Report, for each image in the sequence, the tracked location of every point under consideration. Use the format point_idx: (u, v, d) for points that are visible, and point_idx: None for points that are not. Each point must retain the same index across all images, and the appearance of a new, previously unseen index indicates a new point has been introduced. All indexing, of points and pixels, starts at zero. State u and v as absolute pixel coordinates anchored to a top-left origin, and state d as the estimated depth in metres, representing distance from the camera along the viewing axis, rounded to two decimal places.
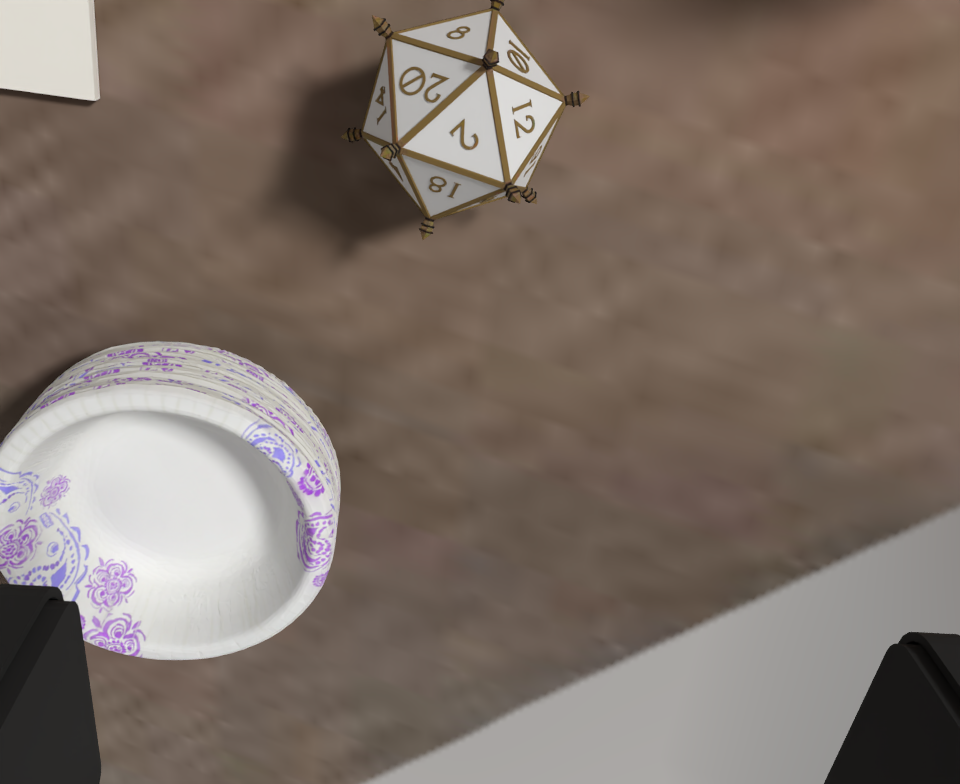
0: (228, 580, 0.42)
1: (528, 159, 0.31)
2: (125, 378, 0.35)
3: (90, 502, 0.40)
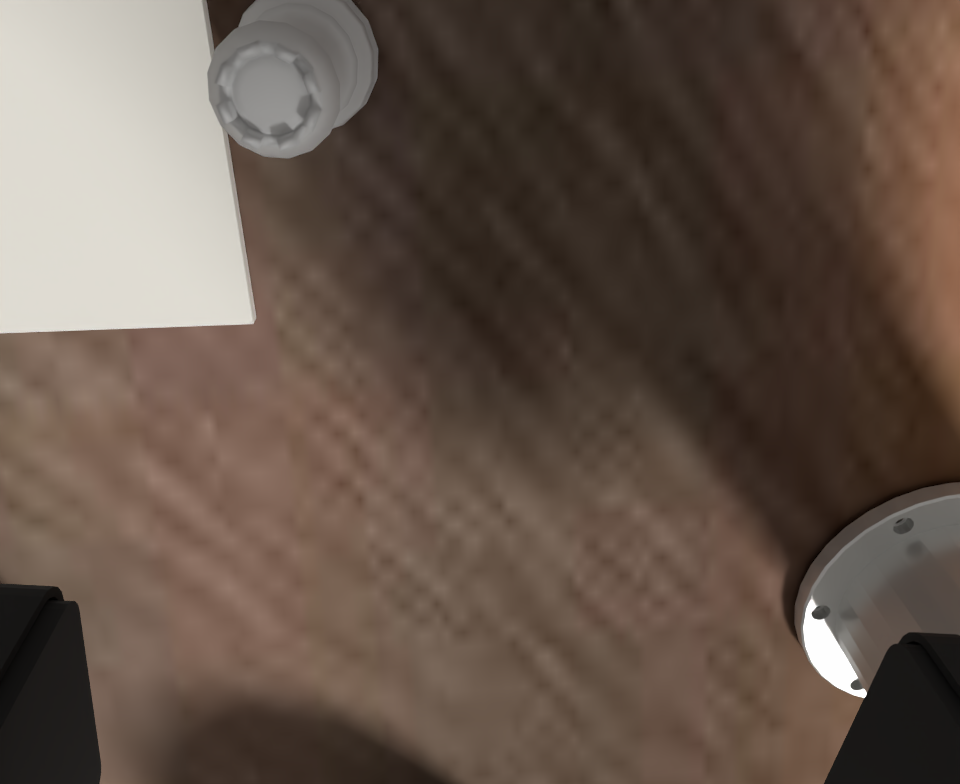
0: None
1: None
2: None
3: None
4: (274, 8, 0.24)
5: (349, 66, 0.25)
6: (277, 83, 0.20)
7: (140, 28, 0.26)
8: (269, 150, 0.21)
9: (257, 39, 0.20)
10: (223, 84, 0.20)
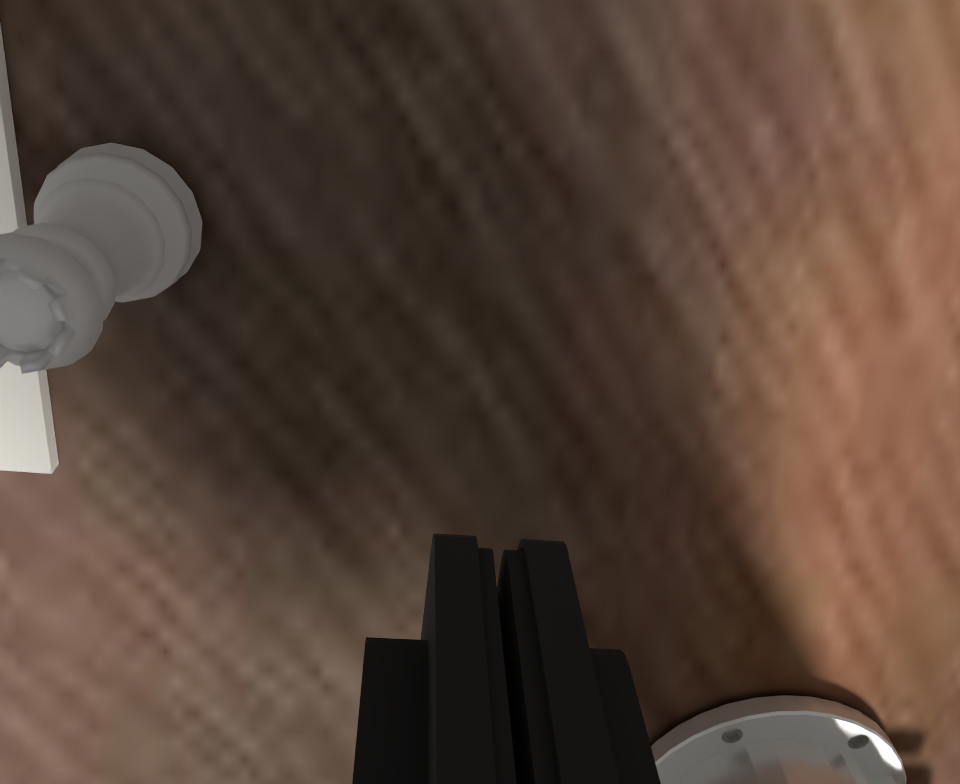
0: None
1: None
2: None
3: None
4: (73, 182, 0.22)
5: (154, 249, 0.23)
6: (23, 304, 0.18)
7: None
8: (18, 363, 0.19)
9: (2, 256, 0.18)
10: None
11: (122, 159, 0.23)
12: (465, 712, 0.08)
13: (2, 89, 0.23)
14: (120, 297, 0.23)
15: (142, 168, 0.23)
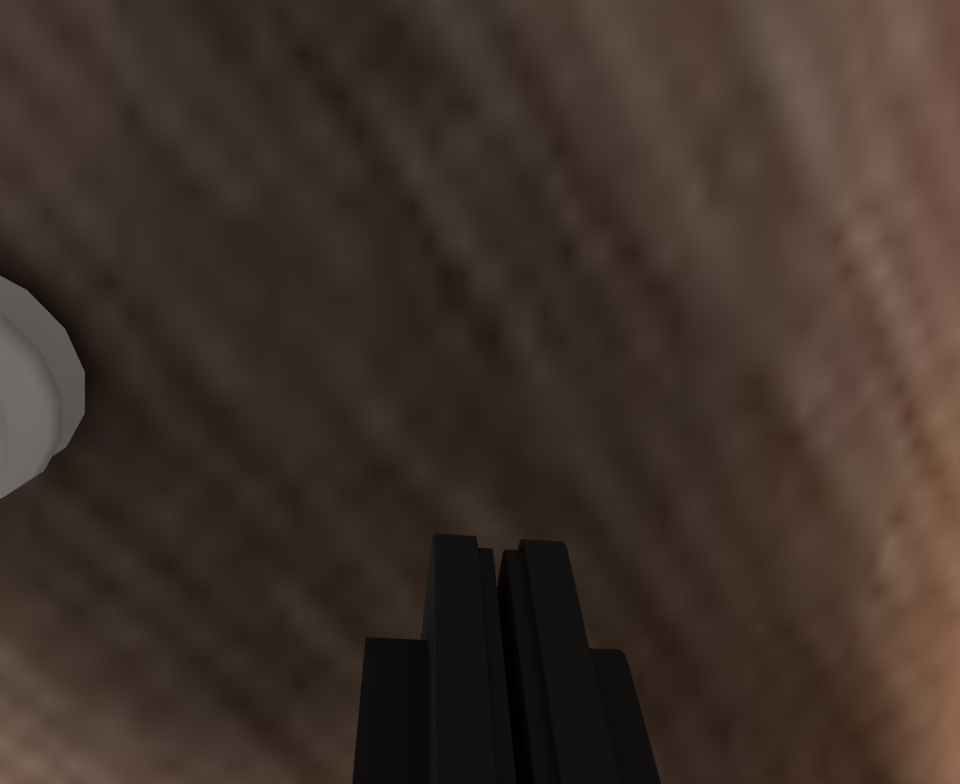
0: None
1: None
2: None
3: None
4: None
5: None
6: None
7: None
8: None
9: None
10: None
11: None
12: (465, 712, 0.08)
13: None
14: None
15: None
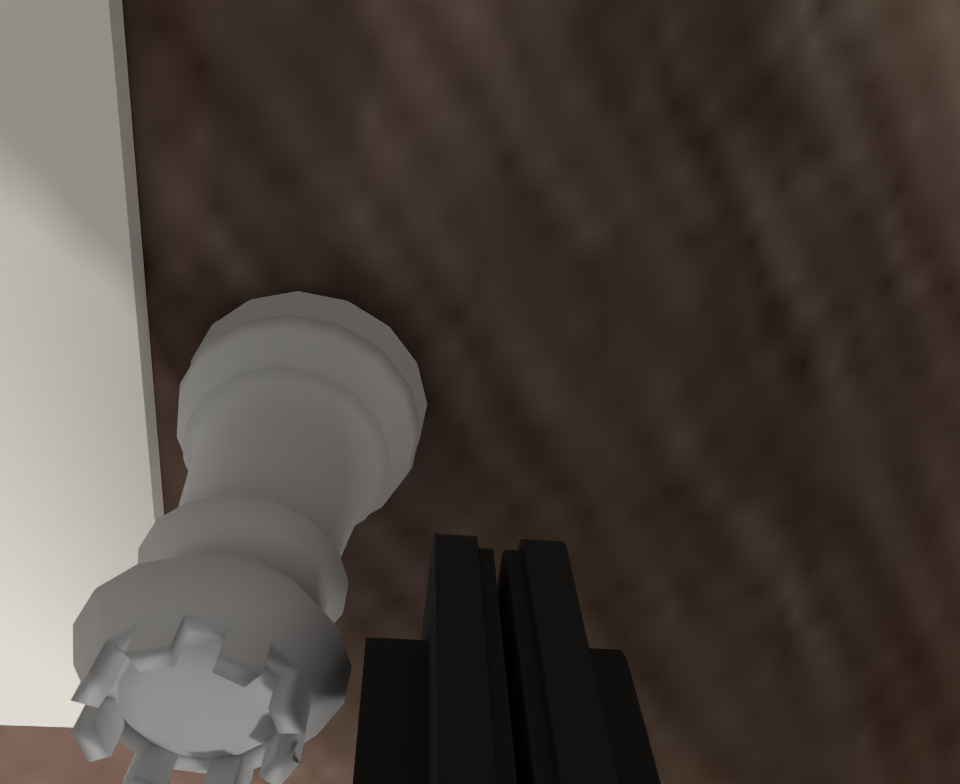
0: None
1: None
2: None
3: None
4: (253, 374, 0.13)
5: (375, 475, 0.14)
6: (215, 692, 0.09)
7: (22, 336, 0.15)
8: (187, 764, 0.10)
9: (180, 614, 0.09)
10: (96, 693, 0.09)
11: (324, 327, 0.14)
12: (465, 712, 0.08)
13: (130, 213, 0.14)
14: None
15: (355, 340, 0.14)
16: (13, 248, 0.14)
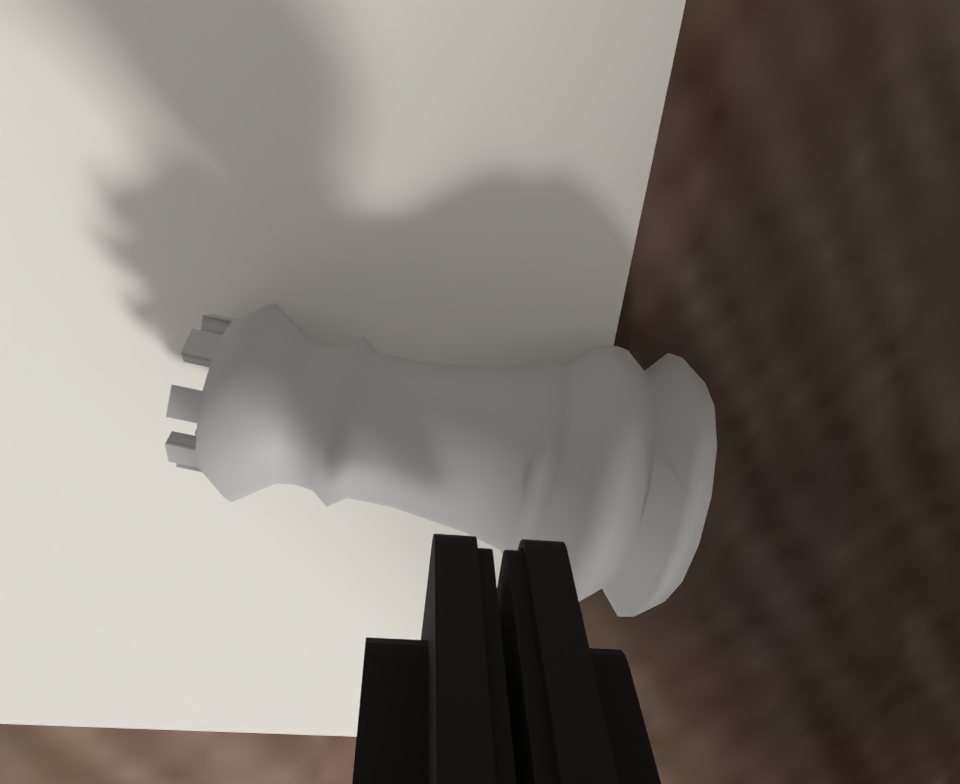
0: None
1: None
2: None
3: None
4: (545, 359, 0.14)
5: (514, 502, 0.12)
6: None
7: None
8: None
9: (231, 320, 0.13)
10: None
11: (621, 368, 0.13)
12: (465, 712, 0.08)
13: (630, 253, 0.15)
14: None
15: (623, 393, 0.12)
16: (516, 287, 0.15)
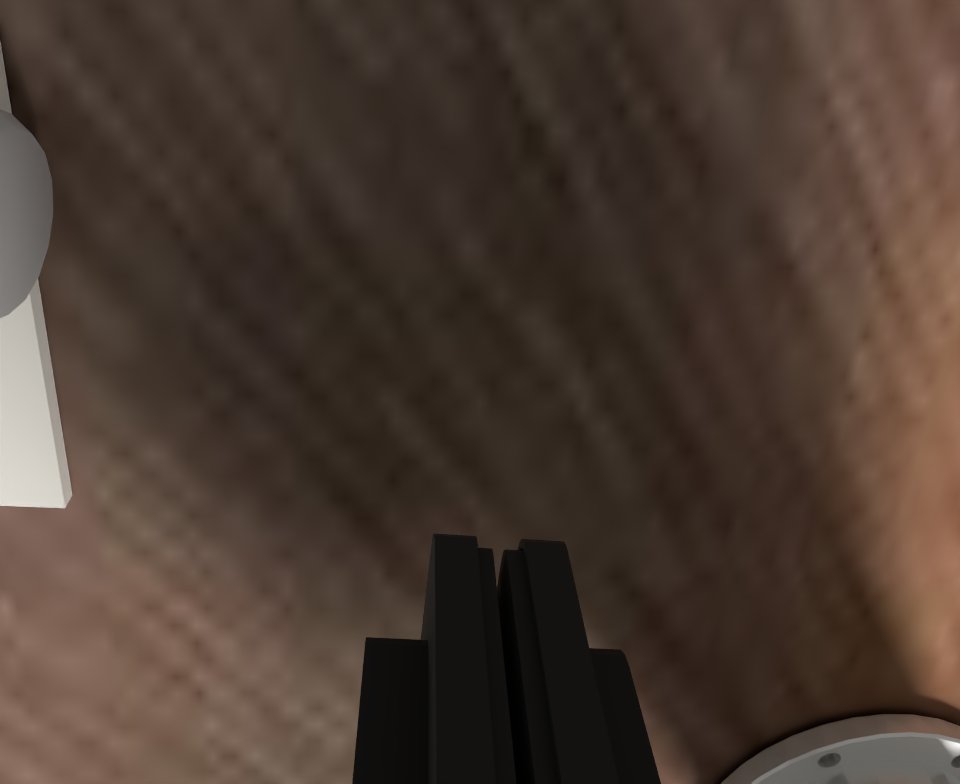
0: None
1: None
2: None
3: None
4: None
5: None
6: None
7: None
8: None
9: None
10: None
11: None
12: (465, 712, 0.08)
13: None
14: None
15: None
16: None
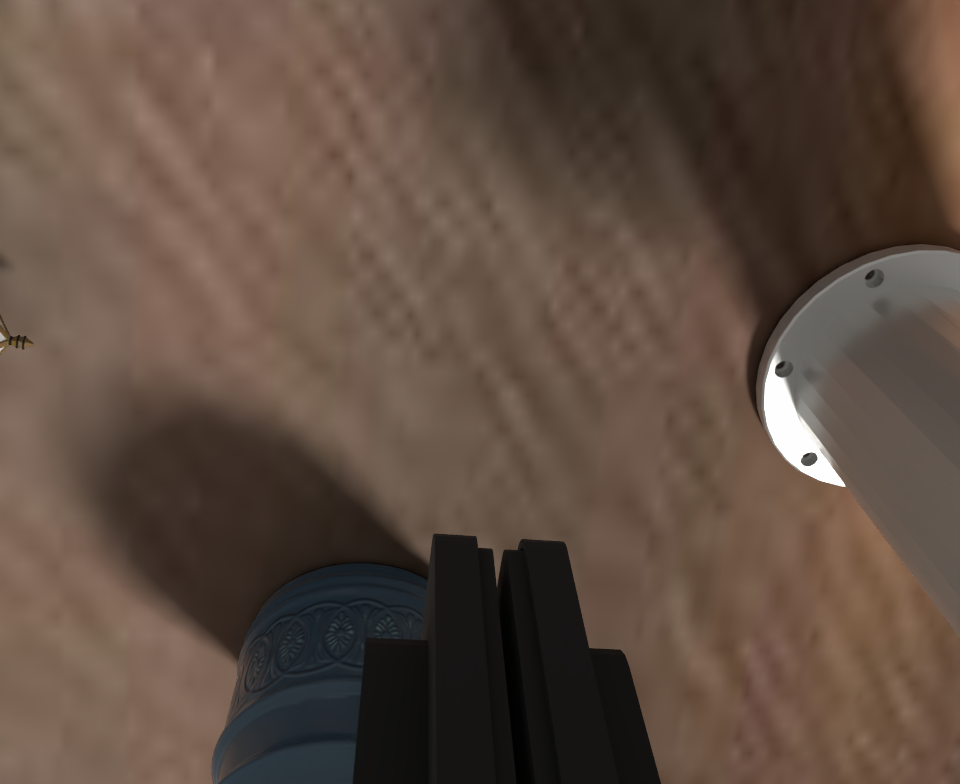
0: None
1: None
2: None
3: None
4: None
5: None
6: None
7: None
8: None
9: None
10: None
11: None
12: (465, 712, 0.08)
13: None
14: None
15: None
16: None
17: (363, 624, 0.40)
